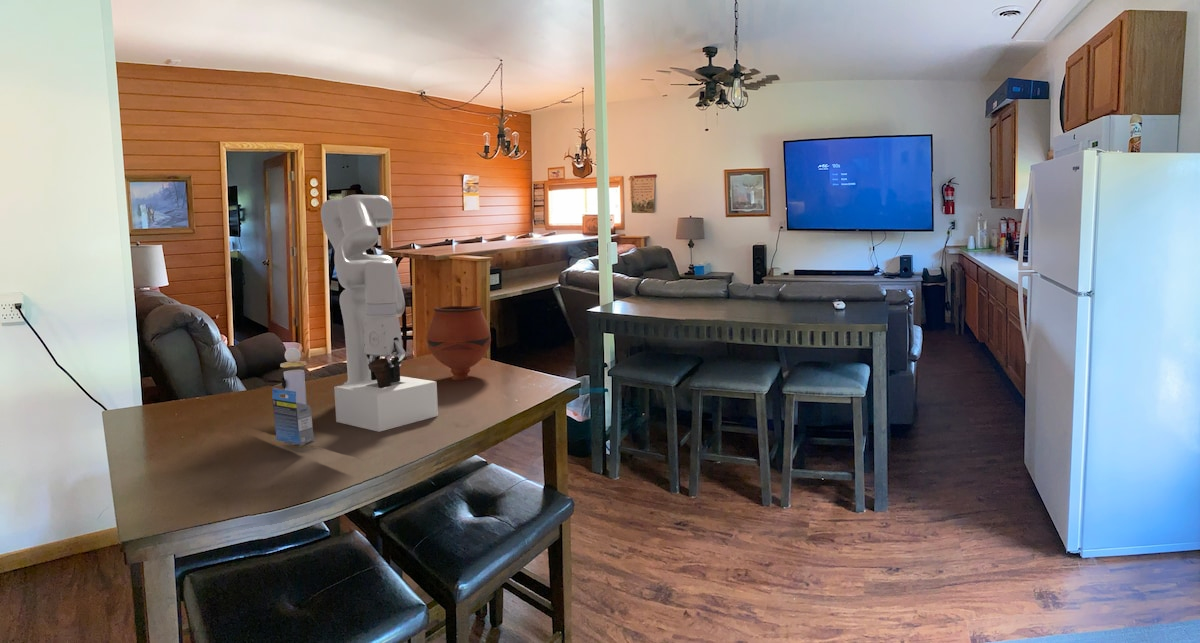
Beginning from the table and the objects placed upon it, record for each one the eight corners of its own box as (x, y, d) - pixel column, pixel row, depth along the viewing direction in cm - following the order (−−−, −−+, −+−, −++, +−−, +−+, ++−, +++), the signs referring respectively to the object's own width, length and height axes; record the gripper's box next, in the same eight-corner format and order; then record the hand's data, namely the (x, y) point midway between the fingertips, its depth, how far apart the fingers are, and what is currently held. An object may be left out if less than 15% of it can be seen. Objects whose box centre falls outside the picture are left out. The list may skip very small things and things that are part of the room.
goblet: (505, 385, 216) (502, 305, 213) (454, 396, 201) (451, 311, 199) (466, 378, 228) (463, 303, 225) (417, 388, 214) (413, 308, 211)
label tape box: (314, 441, 157) (311, 387, 156) (299, 445, 154) (295, 391, 152) (290, 436, 161) (286, 384, 160) (274, 440, 158) (270, 387, 157)
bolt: (391, 421, 174) (379, 366, 170) (376, 420, 176) (363, 365, 172) (406, 411, 179) (394, 358, 175) (391, 410, 181) (379, 357, 177)
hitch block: (336, 421, 174) (334, 386, 173) (395, 407, 188) (393, 375, 187) (379, 431, 164) (377, 394, 163) (438, 415, 178) (436, 381, 177)
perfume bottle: (310, 424, 172) (305, 344, 170) (310, 429, 167) (305, 348, 164) (285, 427, 170) (279, 346, 167) (284, 432, 164) (278, 349, 162)
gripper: (348, 310, 175) (352, 379, 177) (391, 313, 165) (395, 387, 167) (373, 307, 181) (377, 374, 183) (416, 310, 171) (419, 381, 173)
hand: (385, 380), depth 175 cm, fingers open, 6 cm apart
